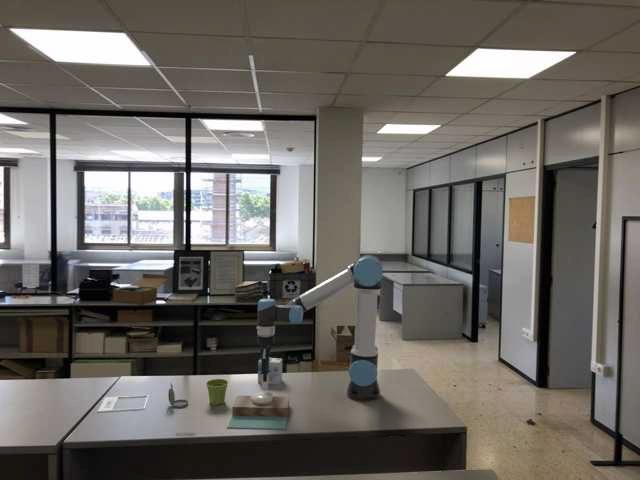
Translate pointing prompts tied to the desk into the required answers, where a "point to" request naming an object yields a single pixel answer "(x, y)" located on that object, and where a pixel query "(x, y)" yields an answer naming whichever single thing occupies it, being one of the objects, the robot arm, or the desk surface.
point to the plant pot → (217, 390)
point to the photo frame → (111, 401)
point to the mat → (257, 422)
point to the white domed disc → (261, 398)
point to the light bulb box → (272, 371)
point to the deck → (261, 407)
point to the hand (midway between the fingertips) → (264, 387)
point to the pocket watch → (178, 402)
